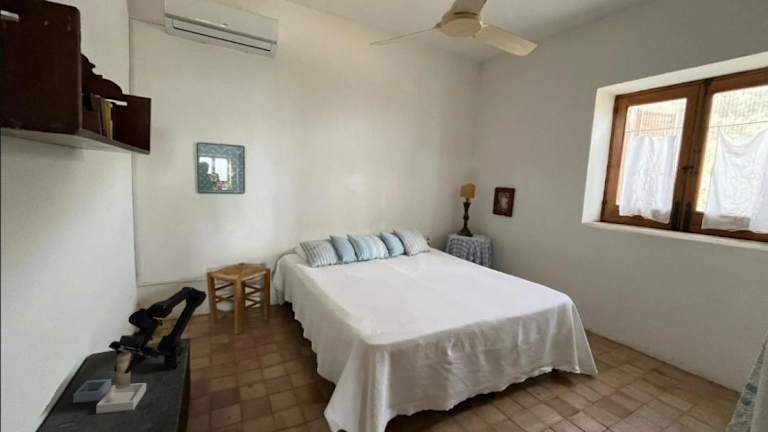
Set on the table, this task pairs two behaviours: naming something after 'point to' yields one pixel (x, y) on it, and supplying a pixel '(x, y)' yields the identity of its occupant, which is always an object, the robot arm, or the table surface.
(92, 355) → the table surface
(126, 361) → the birch dowel
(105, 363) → the table surface
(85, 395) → the socket block
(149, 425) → the table surface
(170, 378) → the table surface
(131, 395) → the tray
